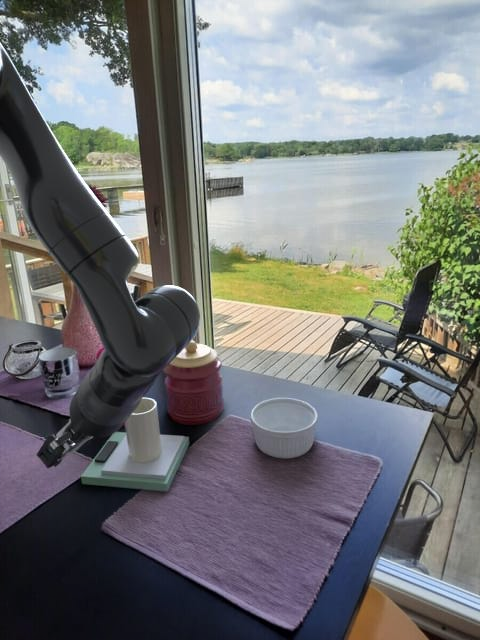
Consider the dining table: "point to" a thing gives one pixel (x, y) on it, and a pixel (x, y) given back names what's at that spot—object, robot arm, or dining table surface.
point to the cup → (144, 432)
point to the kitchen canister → (194, 385)
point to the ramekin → (284, 427)
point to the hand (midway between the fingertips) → (76, 442)
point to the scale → (135, 465)
